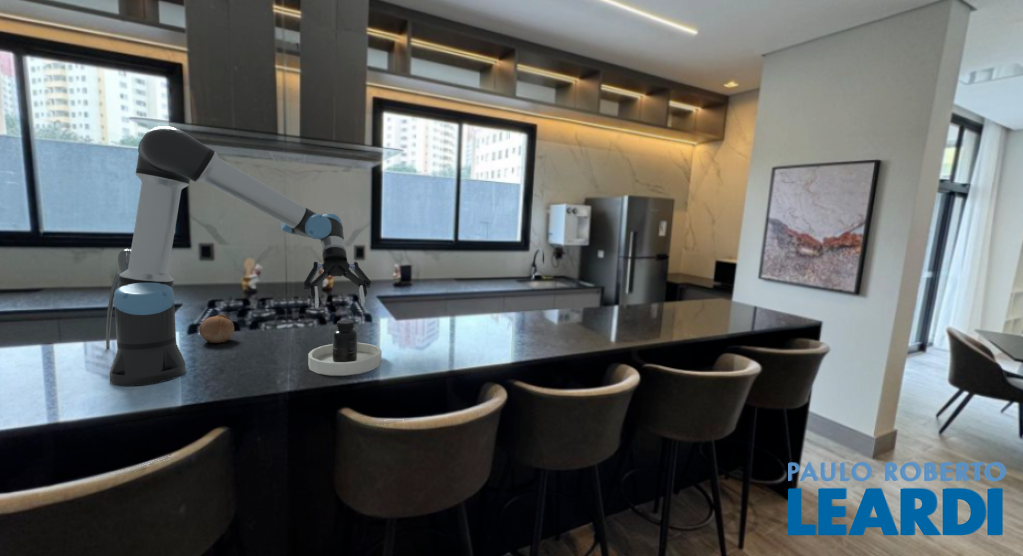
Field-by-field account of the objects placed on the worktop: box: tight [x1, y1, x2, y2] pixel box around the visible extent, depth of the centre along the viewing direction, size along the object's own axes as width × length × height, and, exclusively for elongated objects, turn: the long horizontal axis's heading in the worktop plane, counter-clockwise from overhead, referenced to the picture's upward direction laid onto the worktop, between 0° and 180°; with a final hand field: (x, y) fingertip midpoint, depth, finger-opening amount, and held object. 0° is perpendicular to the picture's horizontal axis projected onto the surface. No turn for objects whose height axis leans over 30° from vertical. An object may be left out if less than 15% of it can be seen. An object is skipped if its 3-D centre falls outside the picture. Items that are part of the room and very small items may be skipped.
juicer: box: [105, 248, 131, 349], centre depth 132 cm, size 10×11×30 cm
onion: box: [199, 313, 235, 344], centre depth 143 cm, size 10×9×10 cm
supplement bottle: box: [332, 319, 358, 362], centre depth 129 cm, size 7×7×12 cm
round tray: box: [307, 342, 382, 376], centre depth 130 cm, size 20×20×4 cm
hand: (340, 305), depth 136 cm, fingers open, 13 cm apart
